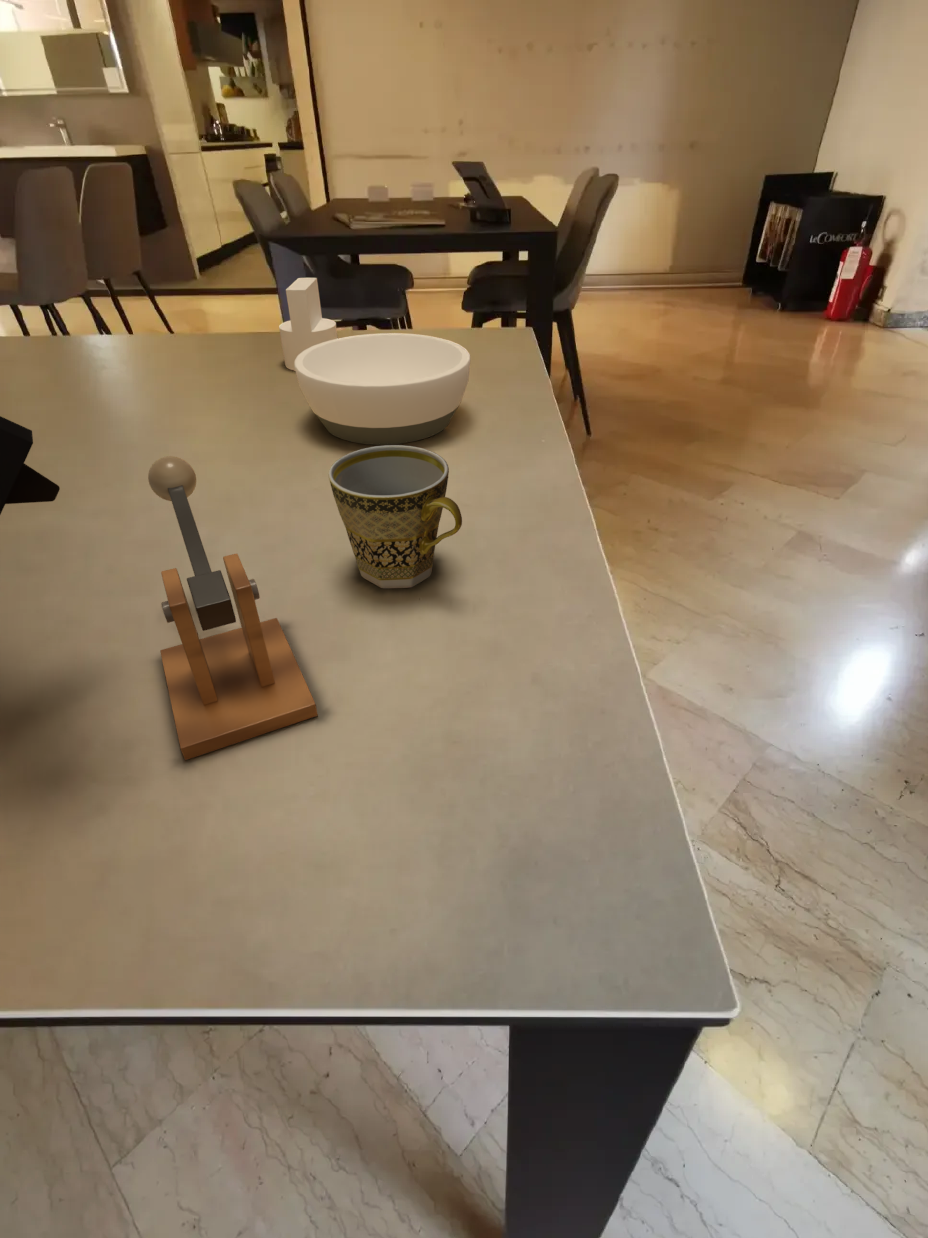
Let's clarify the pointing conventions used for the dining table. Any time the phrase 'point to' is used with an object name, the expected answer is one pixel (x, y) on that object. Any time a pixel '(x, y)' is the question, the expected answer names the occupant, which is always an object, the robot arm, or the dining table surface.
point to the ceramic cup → (393, 510)
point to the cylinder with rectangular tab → (304, 321)
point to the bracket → (230, 672)
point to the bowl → (384, 385)
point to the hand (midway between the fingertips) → (54, 492)
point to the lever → (192, 542)
